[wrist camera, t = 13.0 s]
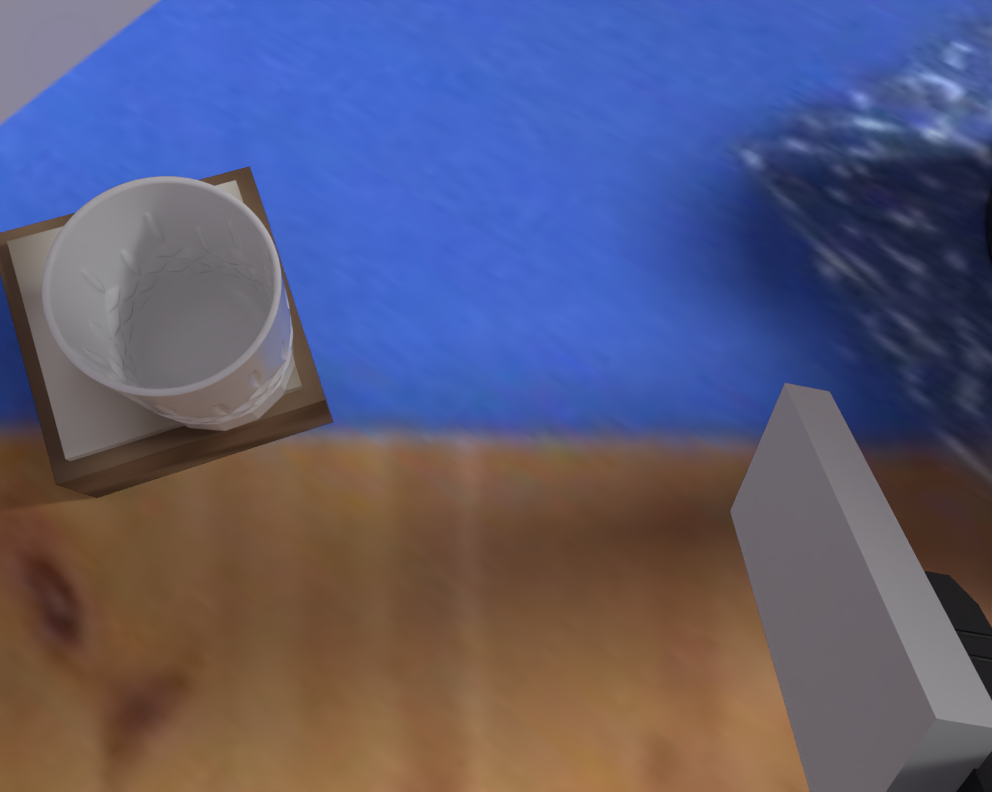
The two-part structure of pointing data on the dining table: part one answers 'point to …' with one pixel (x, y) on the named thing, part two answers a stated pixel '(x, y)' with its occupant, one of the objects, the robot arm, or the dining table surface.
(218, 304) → the white cup
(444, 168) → the dining table surface
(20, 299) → the base
